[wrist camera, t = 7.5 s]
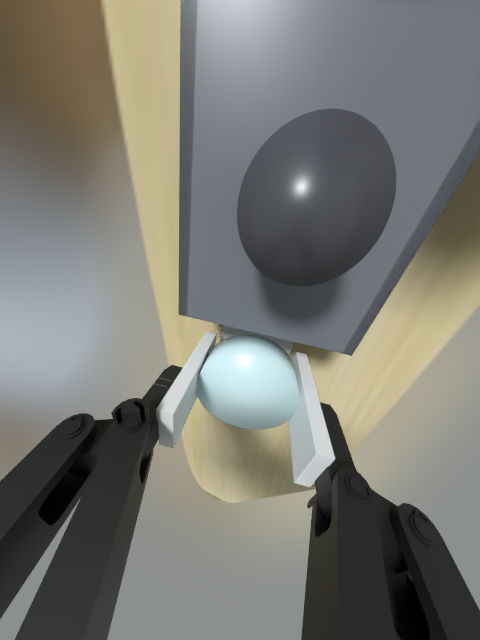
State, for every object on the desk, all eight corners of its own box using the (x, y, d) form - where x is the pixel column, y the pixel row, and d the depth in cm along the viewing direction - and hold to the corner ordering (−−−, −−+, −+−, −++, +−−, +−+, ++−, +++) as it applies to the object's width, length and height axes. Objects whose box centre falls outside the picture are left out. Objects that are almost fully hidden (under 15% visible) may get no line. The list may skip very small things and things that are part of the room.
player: (224, 80, 9) (58, -436, 2) (423, 110, 8) (1172, -471, 1) (206, 288, 14) (144, 345, 7) (327, 315, 13) (382, 405, 7)
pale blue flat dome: (289, 328, 10) (293, 350, 8) (299, 401, 12) (304, 430, 11) (194, 340, 11) (180, 361, 10) (220, 403, 14) (213, 428, 12)
